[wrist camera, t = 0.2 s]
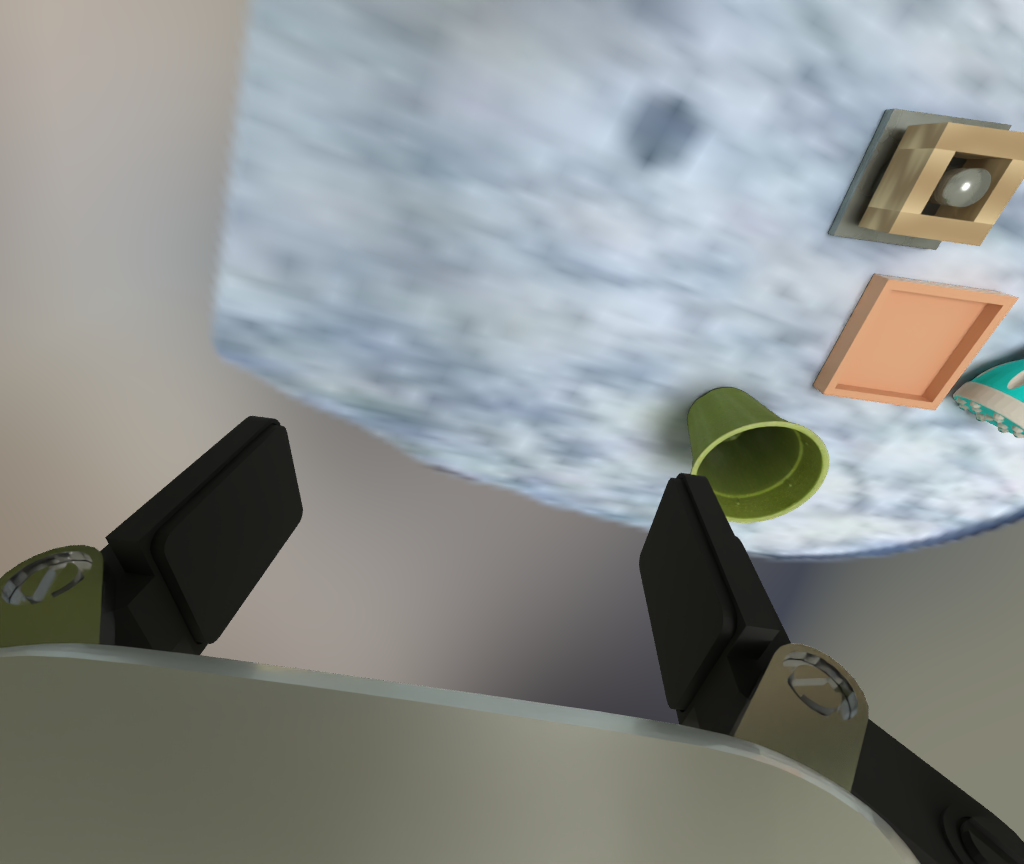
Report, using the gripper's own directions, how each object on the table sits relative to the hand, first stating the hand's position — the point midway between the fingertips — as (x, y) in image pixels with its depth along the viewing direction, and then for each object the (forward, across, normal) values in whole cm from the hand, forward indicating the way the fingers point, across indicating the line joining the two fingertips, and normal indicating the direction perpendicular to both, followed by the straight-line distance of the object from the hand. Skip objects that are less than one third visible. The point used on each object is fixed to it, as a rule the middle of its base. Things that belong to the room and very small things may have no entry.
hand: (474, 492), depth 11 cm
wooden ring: (+34, -31, -8) cm, 47 cm away
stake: (+36, -31, -8) cm, 48 cm away
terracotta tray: (+36, -37, +5) cm, 52 cm away
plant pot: (+37, -23, +16) cm, 46 cm away
